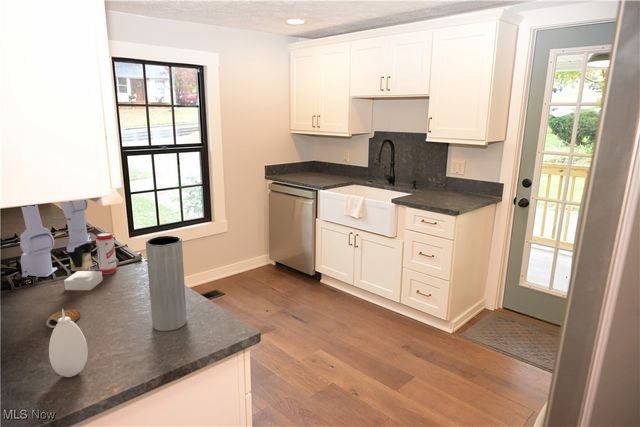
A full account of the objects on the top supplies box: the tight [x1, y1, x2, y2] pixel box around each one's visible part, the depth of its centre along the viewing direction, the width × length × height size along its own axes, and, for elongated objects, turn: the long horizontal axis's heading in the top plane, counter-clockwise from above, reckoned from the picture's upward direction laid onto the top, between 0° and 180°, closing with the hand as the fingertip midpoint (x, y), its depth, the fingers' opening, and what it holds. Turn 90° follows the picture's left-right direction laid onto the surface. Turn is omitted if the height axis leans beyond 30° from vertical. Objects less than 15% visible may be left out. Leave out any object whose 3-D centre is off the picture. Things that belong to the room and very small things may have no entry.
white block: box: [63, 270, 103, 291], centre depth 152 cm, size 9×9×4 cm
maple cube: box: [69, 252, 93, 272], centre depth 150 cm, size 5×5×5 cm
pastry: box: [45, 308, 81, 329], centre depth 126 cm, size 9×7×4 cm
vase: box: [145, 235, 187, 332], centre depth 123 cm, size 10×10×27 cm
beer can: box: [95, 231, 118, 275], centre depth 163 cm, size 6×6×16 cm
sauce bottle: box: [48, 308, 89, 378], centre depth 99 cm, size 8×8×18 cm
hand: (81, 264), depth 150 cm, fingers closed on maple cube, 5 cm apart
